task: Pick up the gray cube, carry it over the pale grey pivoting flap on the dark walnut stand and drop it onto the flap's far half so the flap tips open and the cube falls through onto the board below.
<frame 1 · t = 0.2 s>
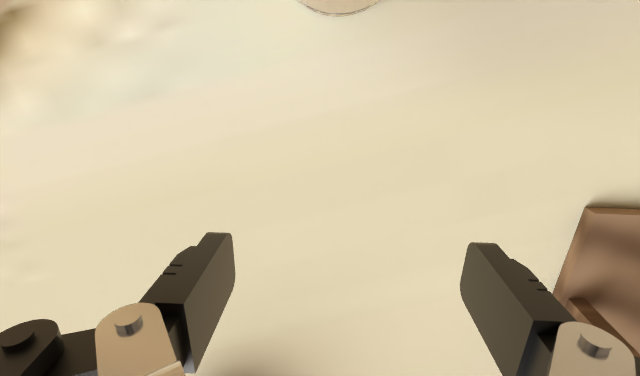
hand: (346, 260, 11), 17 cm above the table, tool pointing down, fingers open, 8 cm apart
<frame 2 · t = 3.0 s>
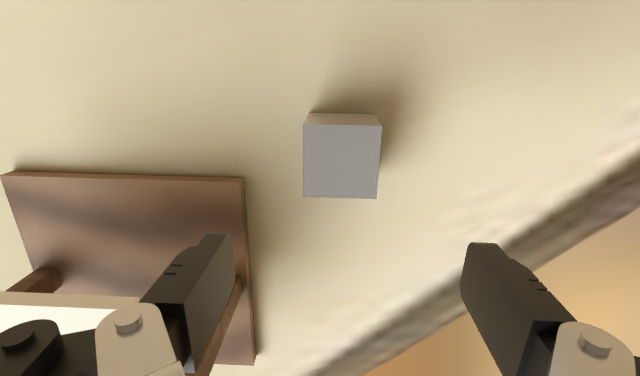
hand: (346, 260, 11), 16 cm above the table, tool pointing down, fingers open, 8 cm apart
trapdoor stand: (147, 273, 32), on the table
gray cube: (340, 144, 26), on the table
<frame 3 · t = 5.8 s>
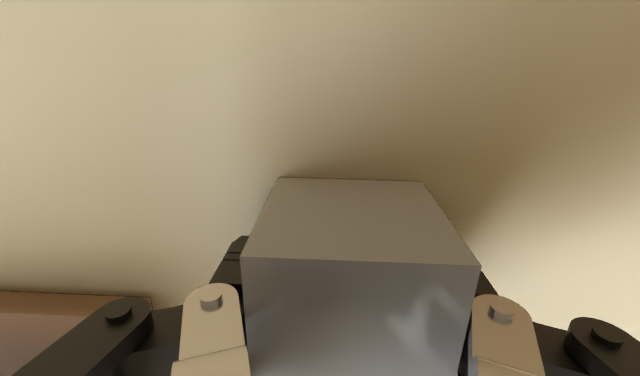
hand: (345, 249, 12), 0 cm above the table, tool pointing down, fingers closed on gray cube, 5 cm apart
gray cube: (346, 241, 12), on the table, touching gripper
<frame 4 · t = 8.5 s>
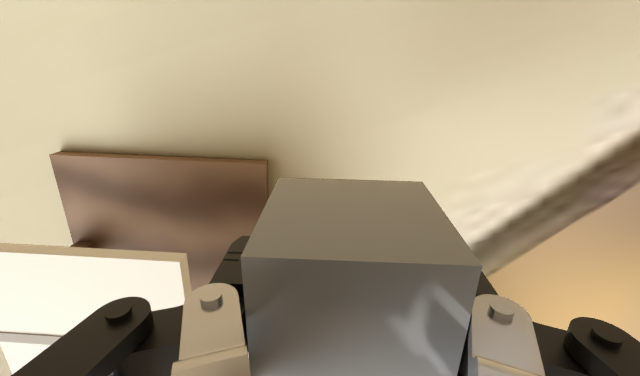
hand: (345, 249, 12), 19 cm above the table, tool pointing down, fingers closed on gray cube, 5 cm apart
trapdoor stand: (175, 248, 35), on the table
trapdoor: (97, 337, 23), point 12 cm above the table, hinge at 0.0°
gray cube: (346, 242, 12), point 18 cm above the table, touching gripper
when the fingers open (16 cm above the table, at t = 11.3 s): gray cube drops 11 cm and tips over, resting on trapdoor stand.
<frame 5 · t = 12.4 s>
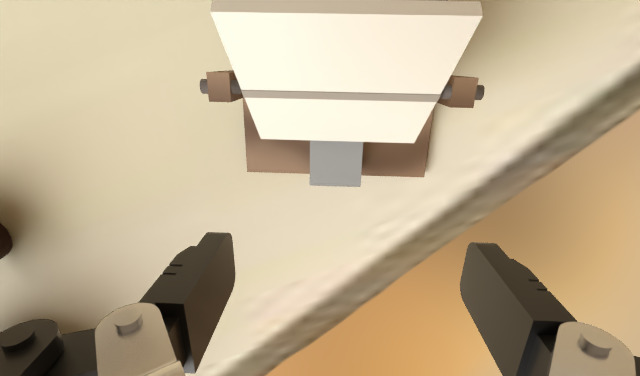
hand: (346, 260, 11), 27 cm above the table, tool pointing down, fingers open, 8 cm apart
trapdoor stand: (338, 81, 35), on the table
trapdoor: (339, 90, 24), point 12 cm above the table, hinge at -49.9°
gray cube: (336, 130, 33), point 4 cm above the table, tilted 90°, touching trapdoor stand
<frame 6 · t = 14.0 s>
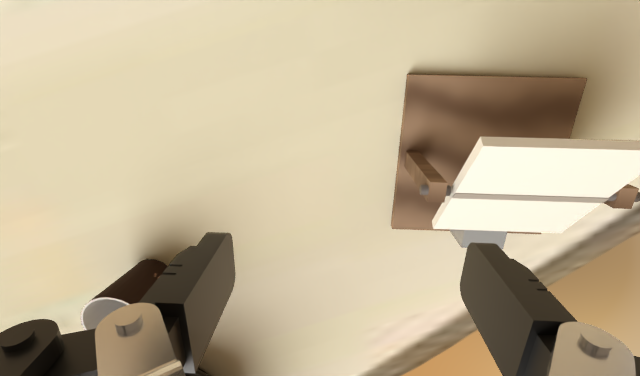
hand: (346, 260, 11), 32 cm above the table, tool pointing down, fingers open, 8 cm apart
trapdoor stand: (476, 158, 42), on the table
trapdoor: (527, 193, 31), point 12 cm above the table, hinge at -35.0°
coffee mug: (154, 283, 52), on the table
gray cube: (481, 202, 41), point 4 cm above the table, tilted 90°, touching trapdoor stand
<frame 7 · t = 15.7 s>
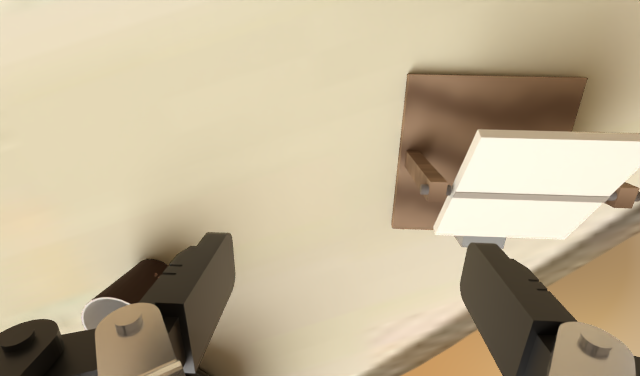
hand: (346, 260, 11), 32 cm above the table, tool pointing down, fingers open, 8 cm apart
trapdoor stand: (476, 157, 42), on the table
trapdoor: (527, 193, 31), point 12 cm above the table, hinge at -28.1°
coffee mug: (154, 283, 52), on the table
gray cube: (481, 201, 41), point 4 cm above the table, tilted 90°, touching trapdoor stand
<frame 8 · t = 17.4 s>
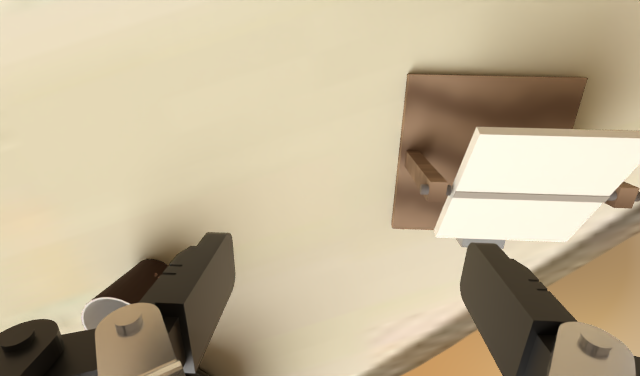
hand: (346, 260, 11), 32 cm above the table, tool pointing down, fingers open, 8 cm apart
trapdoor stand: (476, 157, 42), on the table
trapdoor: (527, 193, 31), point 12 cm above the table, hinge at -25.1°
coffee mug: (154, 283, 52), on the table
gray cube: (481, 201, 41), point 4 cm above the table, tilted 90°, touching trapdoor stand
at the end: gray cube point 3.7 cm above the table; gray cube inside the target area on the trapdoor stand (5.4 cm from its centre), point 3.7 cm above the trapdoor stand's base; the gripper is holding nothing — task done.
